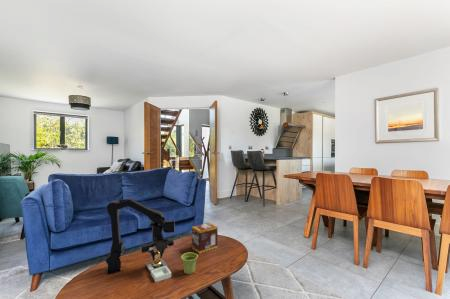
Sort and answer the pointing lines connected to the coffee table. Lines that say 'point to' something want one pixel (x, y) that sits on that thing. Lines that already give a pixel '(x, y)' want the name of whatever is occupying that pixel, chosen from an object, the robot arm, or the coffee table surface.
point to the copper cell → (157, 257)
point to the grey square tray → (150, 267)
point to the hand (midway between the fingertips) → (156, 259)
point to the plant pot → (189, 262)
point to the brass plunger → (157, 264)
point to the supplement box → (204, 237)
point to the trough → (160, 273)
